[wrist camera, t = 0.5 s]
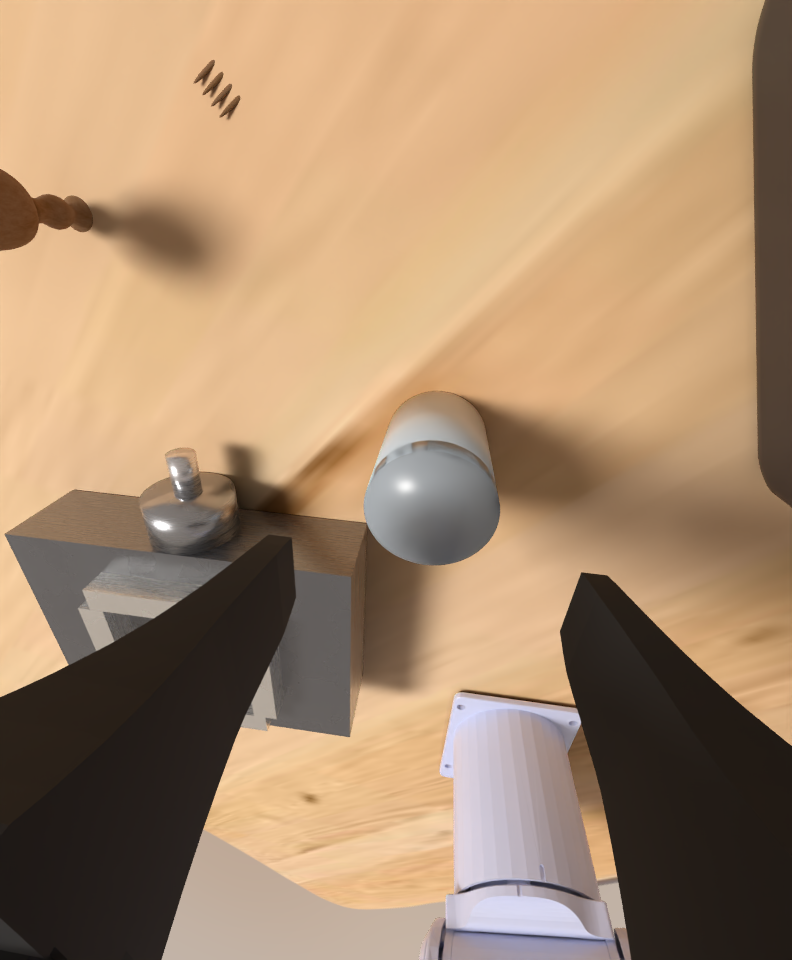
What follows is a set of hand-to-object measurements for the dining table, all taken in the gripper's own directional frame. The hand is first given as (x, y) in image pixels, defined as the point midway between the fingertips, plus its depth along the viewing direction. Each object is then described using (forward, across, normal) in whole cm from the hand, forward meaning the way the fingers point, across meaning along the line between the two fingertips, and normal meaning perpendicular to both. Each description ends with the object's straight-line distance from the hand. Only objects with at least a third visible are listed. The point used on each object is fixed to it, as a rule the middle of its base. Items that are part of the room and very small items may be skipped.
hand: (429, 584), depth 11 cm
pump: (+9, 0, 0) cm, 9 cm away
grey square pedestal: (+9, +11, +9) cm, 17 cm away
